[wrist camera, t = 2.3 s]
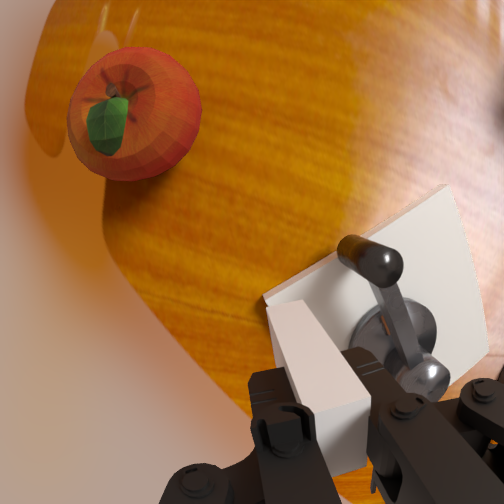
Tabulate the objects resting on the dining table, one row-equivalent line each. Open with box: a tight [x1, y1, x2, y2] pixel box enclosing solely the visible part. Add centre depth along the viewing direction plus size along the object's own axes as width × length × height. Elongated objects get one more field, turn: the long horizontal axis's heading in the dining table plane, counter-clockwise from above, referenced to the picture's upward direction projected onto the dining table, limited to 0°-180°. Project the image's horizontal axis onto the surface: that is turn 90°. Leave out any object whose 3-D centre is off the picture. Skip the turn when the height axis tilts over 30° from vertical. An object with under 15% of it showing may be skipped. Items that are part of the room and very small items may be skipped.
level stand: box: [263, 184, 489, 387], centre depth 25 cm, size 22×20×8 cm
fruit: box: [67, 47, 202, 181], centre depth 19 cm, size 10×10×10 cm
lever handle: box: [337, 235, 451, 402], centre depth 23 cm, size 19×9×6 cm, turn 30°
